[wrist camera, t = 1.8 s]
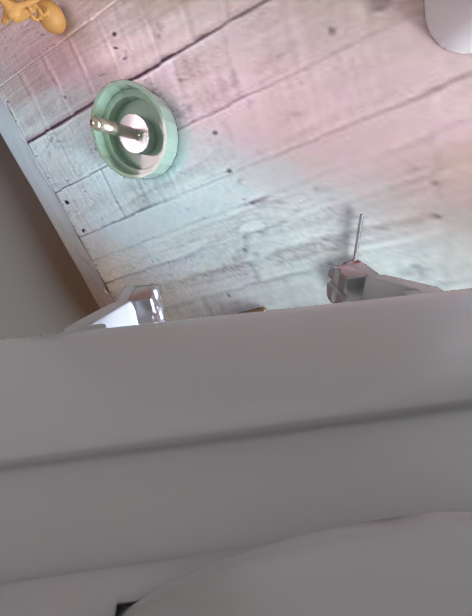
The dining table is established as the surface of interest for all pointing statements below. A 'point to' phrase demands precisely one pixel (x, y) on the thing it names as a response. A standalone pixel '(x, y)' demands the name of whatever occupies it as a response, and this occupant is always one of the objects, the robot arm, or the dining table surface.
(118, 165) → the bowl
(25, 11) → the figurine
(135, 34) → the dining table surface
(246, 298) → the dining table surface
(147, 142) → the meat pounder
